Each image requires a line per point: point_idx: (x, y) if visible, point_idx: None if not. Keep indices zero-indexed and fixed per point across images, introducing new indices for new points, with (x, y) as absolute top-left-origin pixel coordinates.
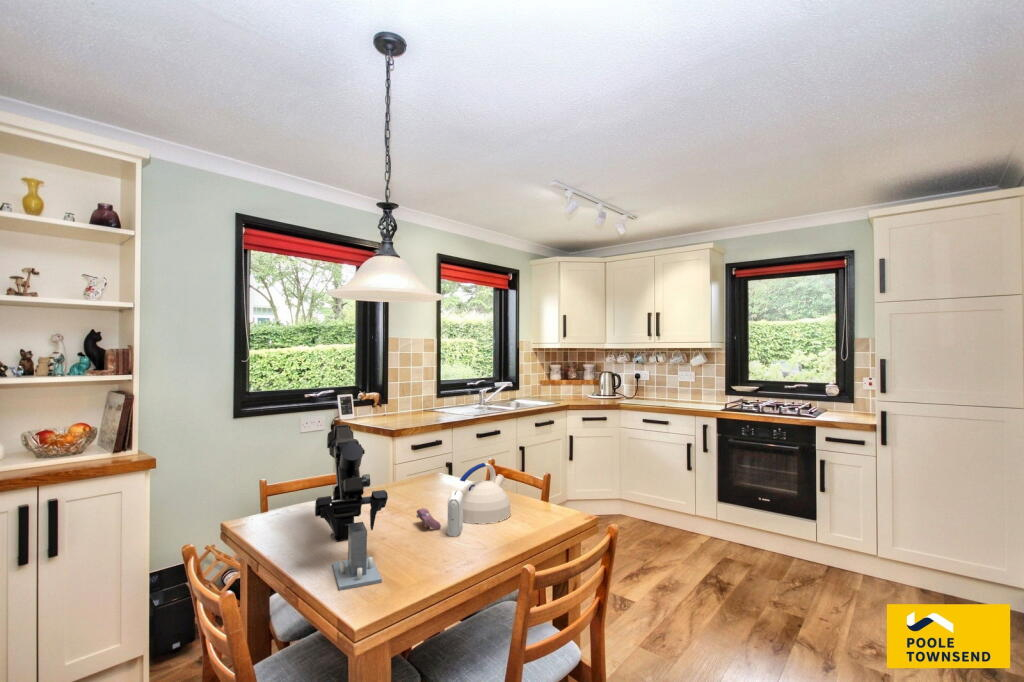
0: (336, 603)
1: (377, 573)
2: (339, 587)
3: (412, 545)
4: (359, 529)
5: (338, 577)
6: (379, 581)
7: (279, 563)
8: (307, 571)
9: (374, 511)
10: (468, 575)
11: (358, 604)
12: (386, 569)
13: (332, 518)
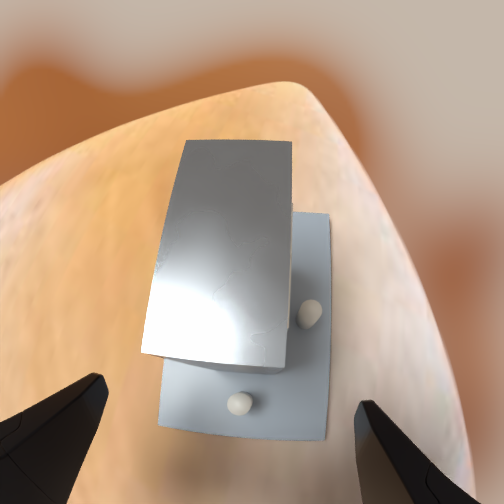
0: (336, 159)
1: None
2: (327, 214)
3: None
4: (227, 174)
5: (324, 285)
6: None
7: None
8: (413, 417)
9: (5, 433)
10: (28, 171)
11: (284, 134)
12: (142, 298)
13: (428, 485)
